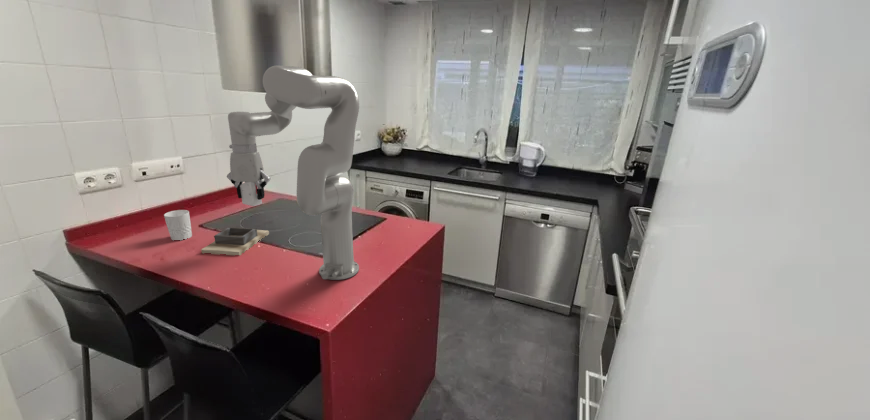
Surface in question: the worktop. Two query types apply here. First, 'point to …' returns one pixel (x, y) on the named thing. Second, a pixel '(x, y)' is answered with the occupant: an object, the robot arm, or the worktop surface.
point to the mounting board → (235, 240)
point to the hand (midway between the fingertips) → (251, 197)
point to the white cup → (178, 224)
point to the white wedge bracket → (249, 194)
